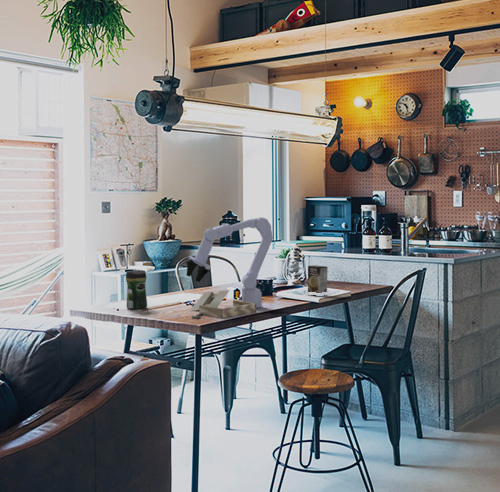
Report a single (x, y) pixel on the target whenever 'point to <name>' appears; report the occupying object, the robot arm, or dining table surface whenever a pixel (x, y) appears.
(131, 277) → the coffee jar
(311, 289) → the coffee box
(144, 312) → the dining table surface
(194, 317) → the hook
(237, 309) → the bay
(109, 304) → the dining table surface
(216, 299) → the beige slanted rack
